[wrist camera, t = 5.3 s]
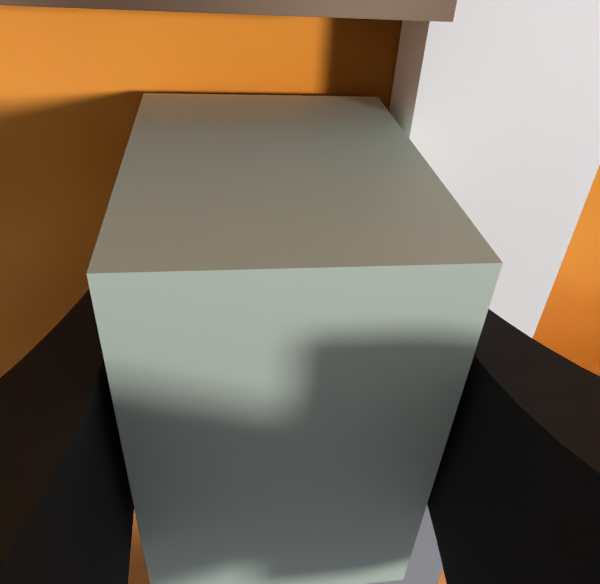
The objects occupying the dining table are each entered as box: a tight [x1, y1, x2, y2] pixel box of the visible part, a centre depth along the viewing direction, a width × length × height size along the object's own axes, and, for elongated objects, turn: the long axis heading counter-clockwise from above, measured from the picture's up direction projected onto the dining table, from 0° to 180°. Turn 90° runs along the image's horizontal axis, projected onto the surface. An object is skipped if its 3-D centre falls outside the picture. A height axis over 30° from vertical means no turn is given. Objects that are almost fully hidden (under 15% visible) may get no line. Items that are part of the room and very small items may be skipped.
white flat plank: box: [367, 0, 600, 584], centre depth 16 cm, size 4×28×2 cm, turn 177°
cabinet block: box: [86, 93, 503, 584], centre depth 10 cm, size 4×7×6 cm, turn 177°
